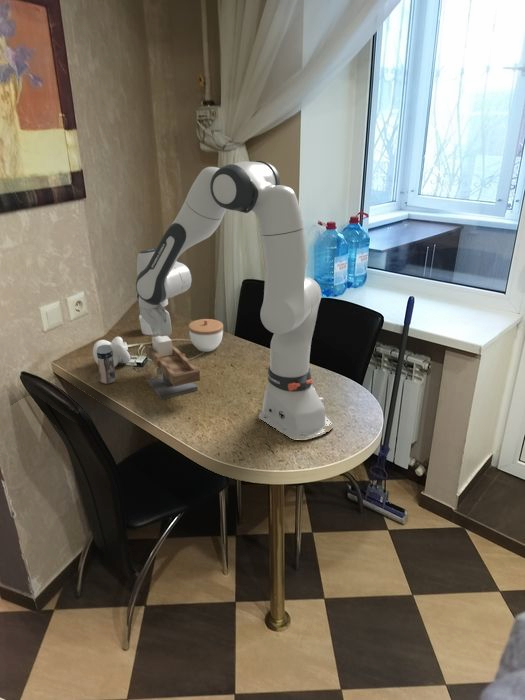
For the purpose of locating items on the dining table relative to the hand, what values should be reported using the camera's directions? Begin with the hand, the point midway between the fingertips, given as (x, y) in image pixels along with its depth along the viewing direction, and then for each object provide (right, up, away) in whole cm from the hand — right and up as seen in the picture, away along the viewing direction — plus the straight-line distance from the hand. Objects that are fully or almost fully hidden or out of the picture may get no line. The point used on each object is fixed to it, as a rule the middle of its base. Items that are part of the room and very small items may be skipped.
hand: (156, 338), depth 164 cm
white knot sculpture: (-17, -9, +7) cm, 21 cm away
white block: (+3, -5, -3) cm, 6 cm away
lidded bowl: (+14, -3, +22) cm, 26 cm away
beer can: (-15, -14, -3) cm, 21 cm away
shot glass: (-10, +3, +34) cm, 36 cm away
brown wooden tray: (+6, -15, -5) cm, 17 cm away
